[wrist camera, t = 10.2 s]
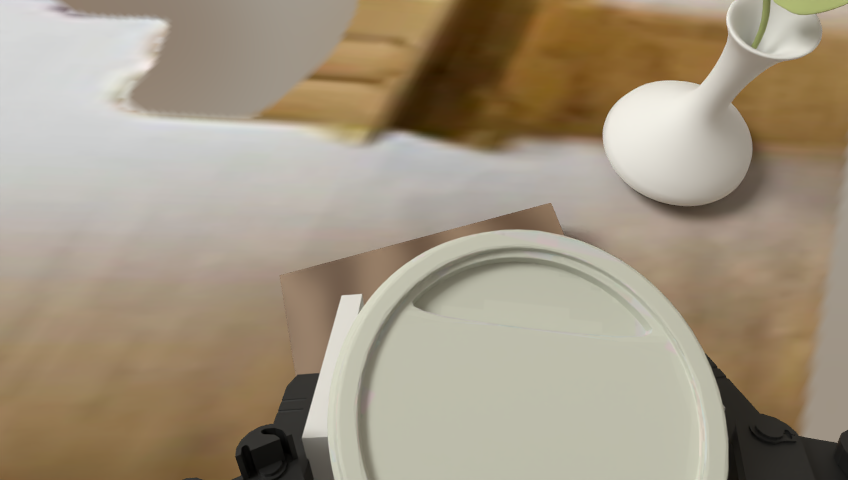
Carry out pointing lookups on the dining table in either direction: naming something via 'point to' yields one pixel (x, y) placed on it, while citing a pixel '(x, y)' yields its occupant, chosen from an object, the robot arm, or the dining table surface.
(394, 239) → the dining table surface
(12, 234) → the dining table surface
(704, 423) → the coffee cup
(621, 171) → the flower in vase
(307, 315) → the walnut base
